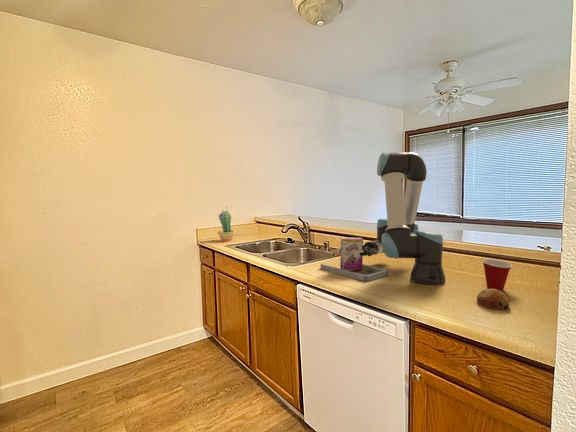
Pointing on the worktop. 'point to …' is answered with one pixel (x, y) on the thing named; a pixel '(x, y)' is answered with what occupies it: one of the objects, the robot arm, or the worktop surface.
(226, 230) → the potted cactus
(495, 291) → the bread roll
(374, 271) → the channel
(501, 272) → the plastic cup
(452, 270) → the worktop surface
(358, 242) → the candy bar box
